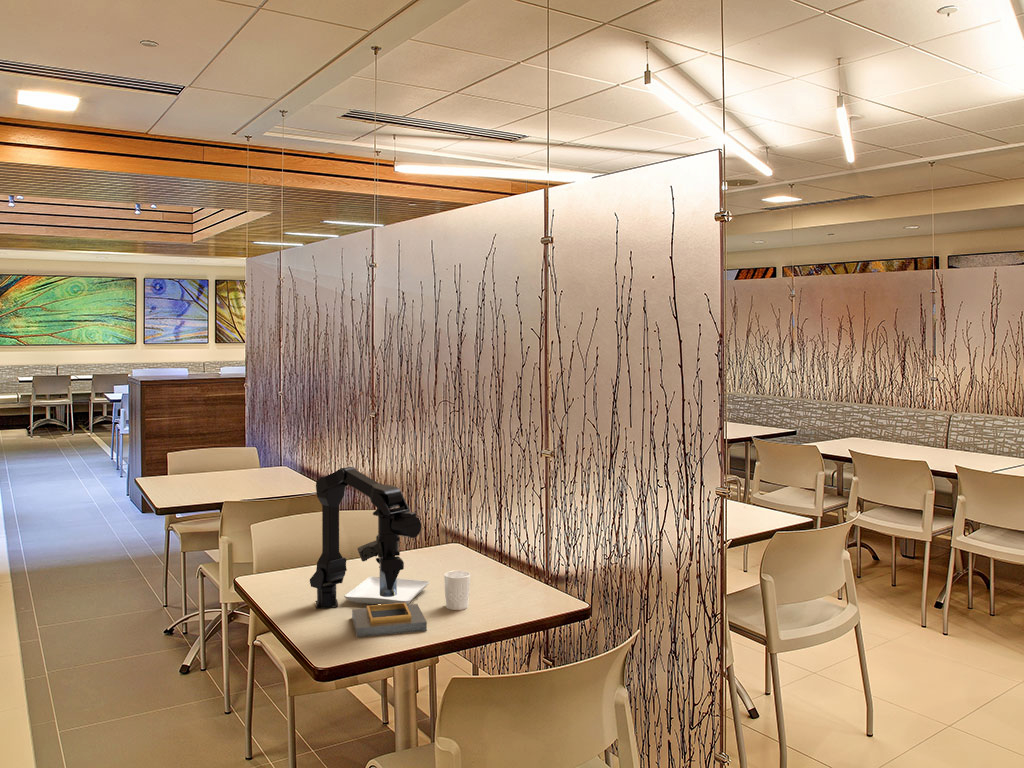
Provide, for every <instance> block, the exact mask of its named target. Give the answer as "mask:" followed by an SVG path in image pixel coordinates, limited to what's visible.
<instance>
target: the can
mask: <svg viewBox="0 0 1024 768" xmlns="http://www.w3.org/2000/svg"><path fill="white" fill-rule="evenodd" d="M379 577H380V596H383V597H392V596H395V595H397V578H398V577H397V578H396V580H395V583H394V585H393V587H392V590H388V589H387V585H386V579H385V573H384V572H383V571H381V570H380V569H379Z"/></svg>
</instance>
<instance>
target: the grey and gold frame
mask: <svg viewBox="0 0 1024 768" xmlns="http://www.w3.org/2000/svg"><path fill="white" fill-rule="evenodd" d="M351 615H352V616H351V619H352V624H353V626H354V627H355V628H354V631H355V635H356V638H365V637H375V636H385V635H386V636H387V635H396V634H398V635H399V634H406V633H409V634H410V633H418V632H419V633H420V632H427V631H428V630H427V624H428V623H427V622H428V621H427V620H426V618H425V616H424V614H423V612H422V610H421V608H420V606H419V605H418V603H414V604H407V605H406V603H395V604H383V605H374V604H370V605H366V608H365V607H364V608H356V609H354V608H353V609H351Z"/></svg>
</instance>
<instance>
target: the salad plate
mask: <svg viewBox="0 0 1024 768" xmlns="http://www.w3.org/2000/svg"><path fill="white" fill-rule="evenodd" d="M429 584H430V581H429V580H422V579H421V580H420V579H409V578H400V577H399V578H398V577H397V595H395V596H392V597H383V596H380V576H368V577H367V578H365V579H364V580H363V581H361V582H360V583H359V584H358V585H357V586H355V587H354V588H353V589H351V590H350V591H348V592H347V593H346V594H345V595H343V596H344V598H345V599H346V600H347V601H349V602H352V603H355V604H356V603H357V604H362V603H368V604H367V605H374V604H381V605H383V604H395V603H406V605H410V604H411V602H412V601H413V600H414V598H416V597H417V595H419V594H420V593H421V592H422V591H424V590H425V588H426V587H427V586H428V585H429Z"/></svg>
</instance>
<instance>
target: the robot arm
mask: <svg viewBox="0 0 1024 768" xmlns="http://www.w3.org/2000/svg"><path fill="white" fill-rule="evenodd" d="M348 486H350V487H352V488H353V489H355V490H357V491H358V492H359V493H362V494H363V495H365V496H367V497H368V498H369V500H370V503H371V504H372V505H373V506H375V508H377V509H375V510H374V512H372V515H373V516H376V517H378V519H377V523H378V524H377V530H378V531H377V532H378V533H377V535H376V536H375V538H376V539H375V540H373V541H371V542H367V543H366V544H363V545H361V546H359V547H357V548H356V549H357V551H358V554H359V558H360V560H361V562H367V561H368V560H369V559H371V558H374V557H375V561H376V563H378V564H379V566H378V568H379V571H380V570H381V571H383V572H384V573H385V579H386V585H387V589H388V590H392V587H393V585H394V583H395V580H396V578H398V576H399V575H400V574H399V573H400V571H402V570H404V569H405V568H404V567H405V566H404V565H405V562H404V560H403V559H402V558H401V557H400V554H401V553H400V552H401V551H400V550H399V549H400V548H399V545H400V544H399V543H400V536H401V537H407V538H410V539H415V538H417V537H418V536H419V534H420V533H421V530H422V523H421V520H420V518H418V517H417V513H416V512H413V511H412V512H411V509H410V508H409V505H408V503H407V501H406V499H405V498H404V494H403V493H402V491H401V489H400V488H399V487H397V486H394V485H391V484H382V483H379V482H378V481H376V480H374V479H373V478H370V477H369V476H368V475H365V474H364V473H362V472H360V471H358V470H357V468H355V467H354V466H347V467H340V468H339V469H337V470H336V471H335V472H332V473H330V474H328V475H326V476H321V477H319V478H318V480H316V482H315V491H316V497H317V499H318V501H319V503H320V505H321V508H322V509H321V510H322V512H321V514H322V515H321V516H322V517H321V519H322V520H321V521H322V526H321V528H322V531H321V532H322V533H321V535H322V536H321V537H322V540H321V541H322V542H321V543H322V550H321V551H322V552H321V554H320V557H319V558H318V560H317V562H316V571H315V572H314V574H313V575H312V576H311V577H310V578H309V584H310V588H315V589H316V600H315V602H316V603H315V608H316V609H326V608H327V607H329V608H337V607H339V602H338V599H337V585H338V584H343V581H344V578H345V575H346V572H347V570H348V569H347V558H346V557H343V555H342V554H341V553H340V505H341V502H342V501H343V498H344V496H345V491H346V488H347V487H348ZM327 609H328V608H327Z"/></svg>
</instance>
